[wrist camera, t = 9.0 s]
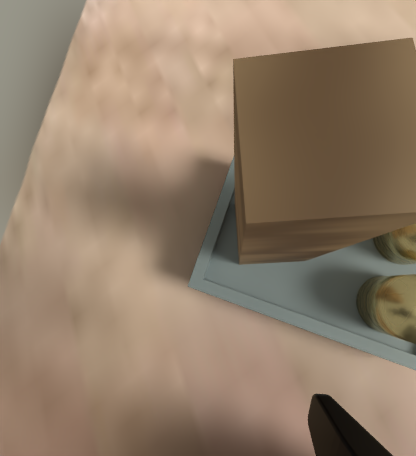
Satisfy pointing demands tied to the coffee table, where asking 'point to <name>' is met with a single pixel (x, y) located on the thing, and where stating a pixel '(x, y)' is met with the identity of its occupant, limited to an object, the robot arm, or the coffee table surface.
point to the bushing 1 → (398, 245)
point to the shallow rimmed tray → (299, 285)
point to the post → (323, 149)
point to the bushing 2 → (389, 305)
